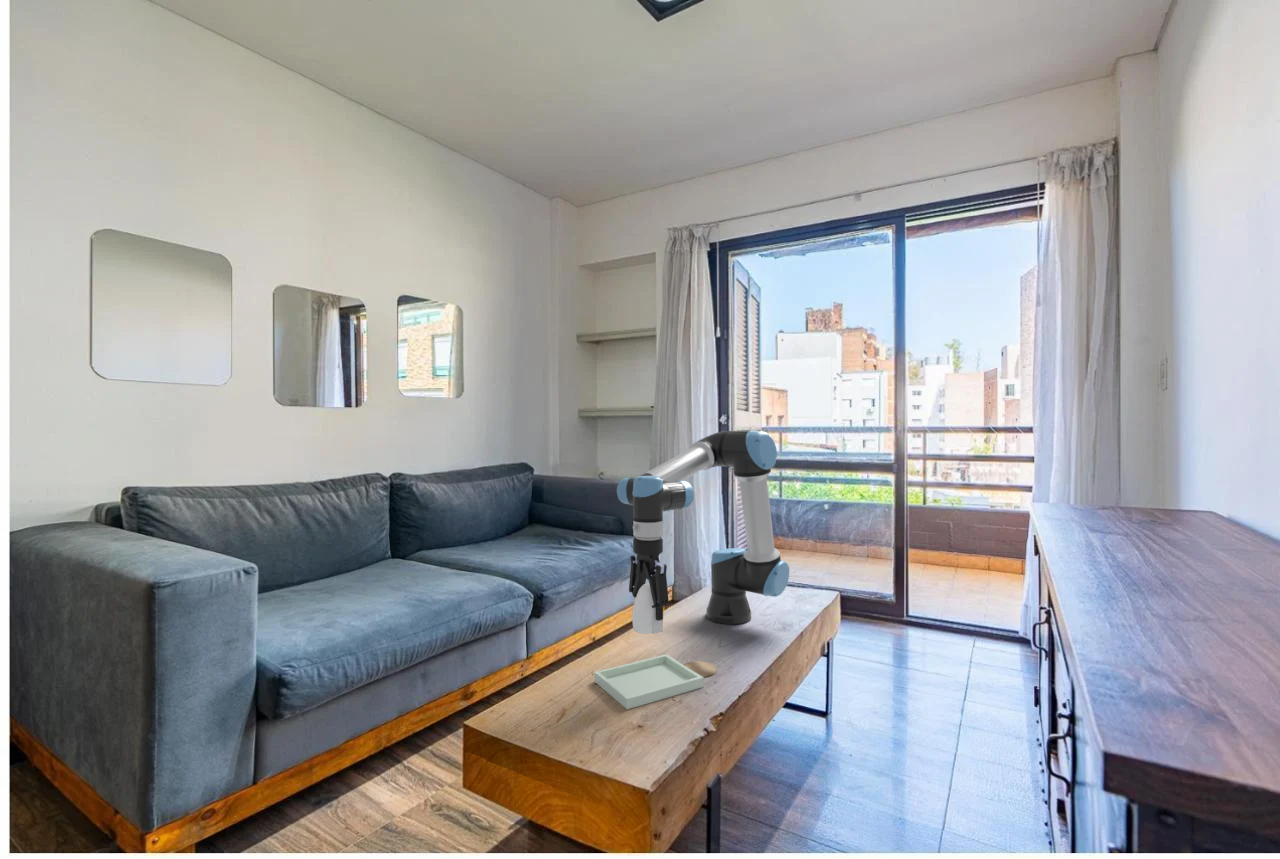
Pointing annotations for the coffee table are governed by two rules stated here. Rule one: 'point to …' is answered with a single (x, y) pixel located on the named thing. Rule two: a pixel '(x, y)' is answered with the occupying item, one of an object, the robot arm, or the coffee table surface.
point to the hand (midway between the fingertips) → (648, 626)
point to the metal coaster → (702, 668)
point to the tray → (648, 680)
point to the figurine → (643, 610)
